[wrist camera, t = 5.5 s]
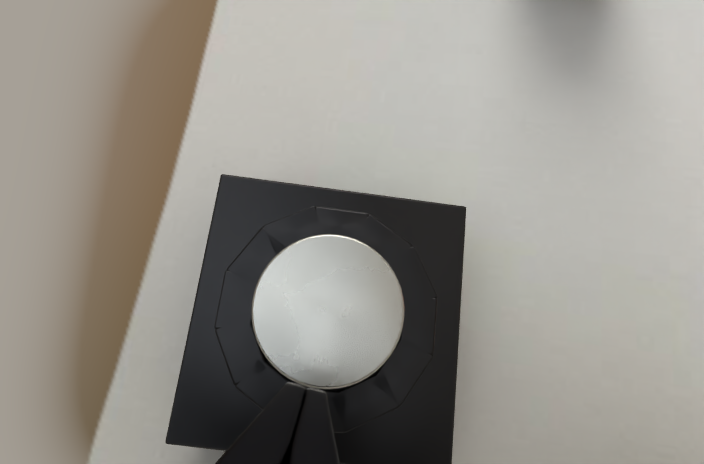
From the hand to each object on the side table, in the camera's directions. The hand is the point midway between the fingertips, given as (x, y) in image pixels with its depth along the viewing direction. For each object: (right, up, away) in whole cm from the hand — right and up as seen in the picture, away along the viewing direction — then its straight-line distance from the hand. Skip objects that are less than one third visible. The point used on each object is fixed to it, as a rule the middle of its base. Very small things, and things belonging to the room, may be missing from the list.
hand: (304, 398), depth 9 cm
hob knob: (0, +1, +6) cm, 6 cm away
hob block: (0, -1, +11) cm, 11 cm away
